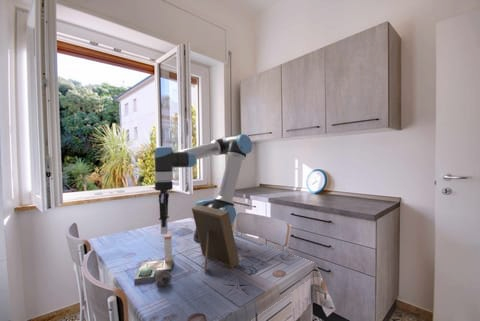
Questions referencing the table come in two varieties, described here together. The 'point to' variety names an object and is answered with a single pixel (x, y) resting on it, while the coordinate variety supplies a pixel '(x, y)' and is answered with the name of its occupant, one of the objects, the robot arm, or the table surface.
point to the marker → (168, 248)
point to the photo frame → (215, 235)
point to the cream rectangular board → (157, 265)
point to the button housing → (145, 277)
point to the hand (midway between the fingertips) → (164, 233)
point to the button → (145, 272)
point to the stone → (162, 278)
